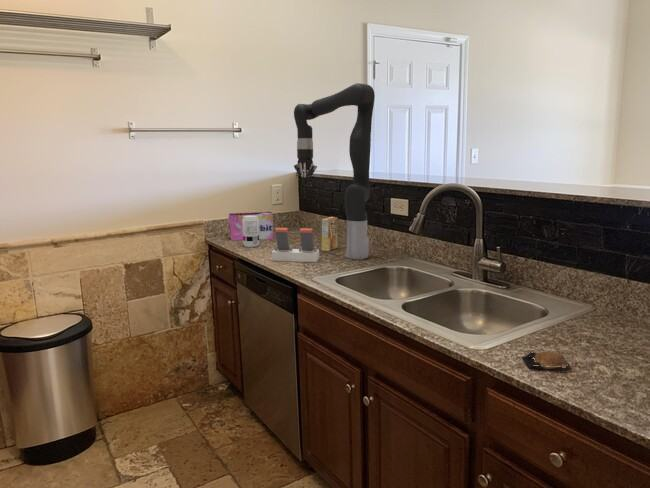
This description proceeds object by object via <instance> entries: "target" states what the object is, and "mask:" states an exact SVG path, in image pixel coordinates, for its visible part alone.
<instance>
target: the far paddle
mask: <svg viewBox="0 0 650 488" xmlns="http://www.w3.org/2000/svg"><path fill="white" fill-rule="evenodd" d="M288 229H289V228H288V227H275V229H274V231H275V236H276V246H278V250H289V247H290V243H289V233H288V232H289V230H288Z"/></svg>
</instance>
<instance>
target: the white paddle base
mask: <svg viewBox="0 0 650 488" xmlns="http://www.w3.org/2000/svg"><path fill="white" fill-rule="evenodd" d="M319 260H320V249H318V247H317V246H314V251H302V246H298V248H293V246H292V245H289V250H278V246H277V245H275V246H274V249H273V250H272V251H271V261H273V262H300V263H301V262H302V263H318V261H319Z"/></svg>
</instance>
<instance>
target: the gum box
mask: <svg viewBox="0 0 650 488" xmlns="http://www.w3.org/2000/svg"><path fill="white" fill-rule="evenodd" d="M246 215H256V216H257V217H258V219H259V240H266V239H267V240H270V239H274V213H273V212H272V211H260V212H259V211H258V212H236V213H234V212H233V213H229V214H228V217H227V222H228V223H229V225H228V226H229V233H230V240H231V241H243V232H242V218H243V216H246Z"/></svg>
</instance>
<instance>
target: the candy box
mask: <svg viewBox="0 0 650 488" xmlns="http://www.w3.org/2000/svg"><path fill="white" fill-rule="evenodd" d="M338 219H339V218H338V217H337V216H329V217H325V218H322V219H321V251H325V252H330V251H331V250H334V249H337V248H338V226H339V225H338V224H339V223H338V222H339V221H338Z"/></svg>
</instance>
